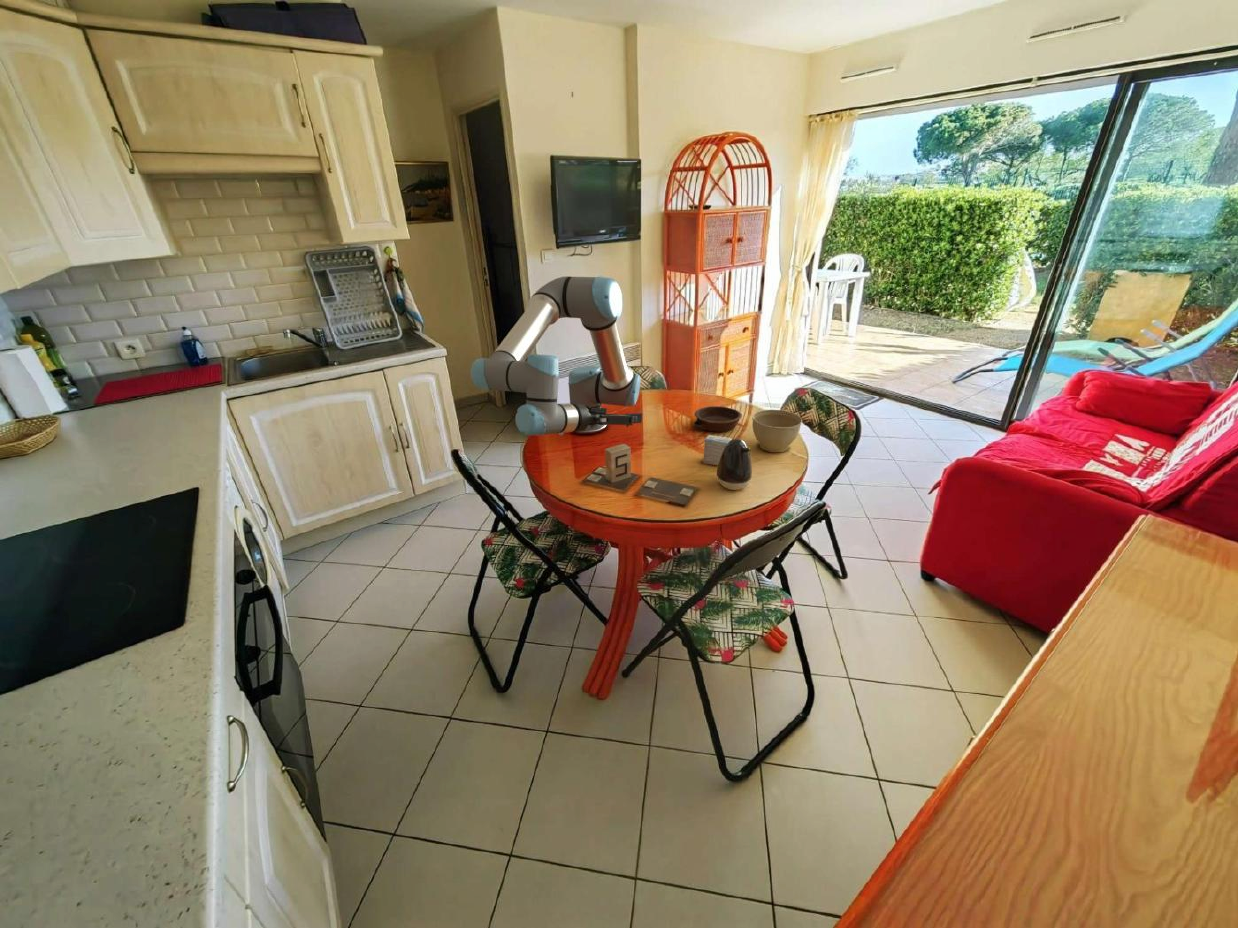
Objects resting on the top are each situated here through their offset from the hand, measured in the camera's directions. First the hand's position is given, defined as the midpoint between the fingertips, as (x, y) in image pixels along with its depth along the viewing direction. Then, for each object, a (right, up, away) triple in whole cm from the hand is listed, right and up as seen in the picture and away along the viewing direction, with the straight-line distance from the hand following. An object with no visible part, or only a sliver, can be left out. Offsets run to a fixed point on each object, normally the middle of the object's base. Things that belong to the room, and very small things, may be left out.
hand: (622, 415), depth 148 cm
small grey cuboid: (-1, -18, +8) cm, 20 cm away
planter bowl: (+53, -9, +28) cm, 60 cm away
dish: (+37, 0, +47) cm, 59 cm away
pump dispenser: (+33, -21, +4) cm, 40 cm away
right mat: (+13, -23, +1) cm, 26 cm away
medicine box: (+31, -14, +18) cm, 39 cm away
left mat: (-3, -19, +9) cm, 21 cm away
